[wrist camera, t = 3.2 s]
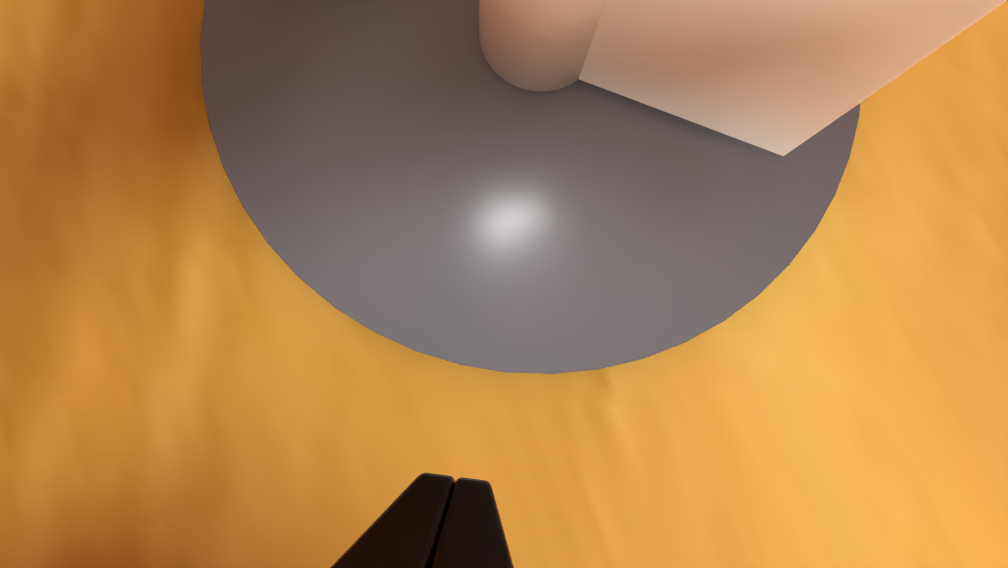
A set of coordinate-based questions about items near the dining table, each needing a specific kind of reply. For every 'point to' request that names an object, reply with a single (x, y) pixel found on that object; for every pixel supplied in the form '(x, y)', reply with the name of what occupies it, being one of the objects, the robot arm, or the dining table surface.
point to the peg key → (724, 54)
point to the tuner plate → (493, 188)
